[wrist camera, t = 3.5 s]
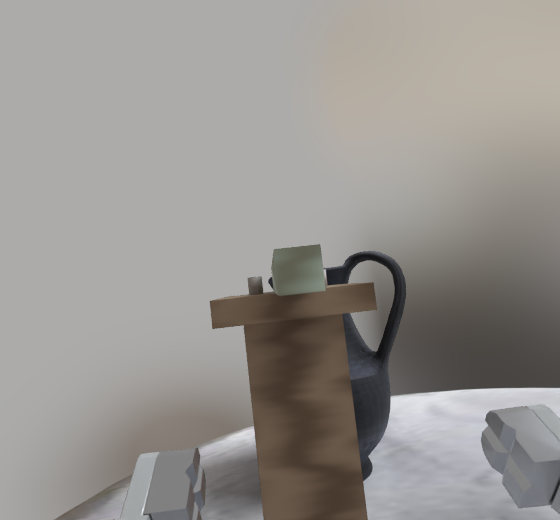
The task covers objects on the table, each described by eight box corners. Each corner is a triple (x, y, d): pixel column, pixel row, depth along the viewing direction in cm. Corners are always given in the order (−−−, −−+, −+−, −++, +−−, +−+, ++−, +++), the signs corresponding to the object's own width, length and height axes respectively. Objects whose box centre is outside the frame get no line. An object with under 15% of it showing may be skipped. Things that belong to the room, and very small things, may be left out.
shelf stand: (372, 540, 37) (339, 269, 39) (422, 661, 25) (370, 262, 27) (254, 557, 37) (226, 282, 39) (247, 688, 25) (207, 280, 27)
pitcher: (302, 439, 63) (282, 266, 65) (432, 447, 55) (405, 249, 57) (257, 497, 47) (233, 265, 49) (430, 520, 39) (393, 242, 41)
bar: (297, 289, 38) (294, 265, 38) (325, 290, 19) (320, 244, 19) (273, 291, 38) (271, 268, 38) (279, 295, 19) (273, 249, 19)
